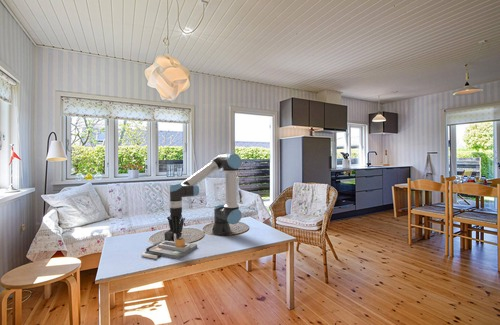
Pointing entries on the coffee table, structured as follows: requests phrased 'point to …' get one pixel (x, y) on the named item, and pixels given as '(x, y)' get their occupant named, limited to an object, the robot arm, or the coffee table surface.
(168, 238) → the camera
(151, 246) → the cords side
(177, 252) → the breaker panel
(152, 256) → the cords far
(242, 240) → the coffee table surface
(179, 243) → the breaker lever
